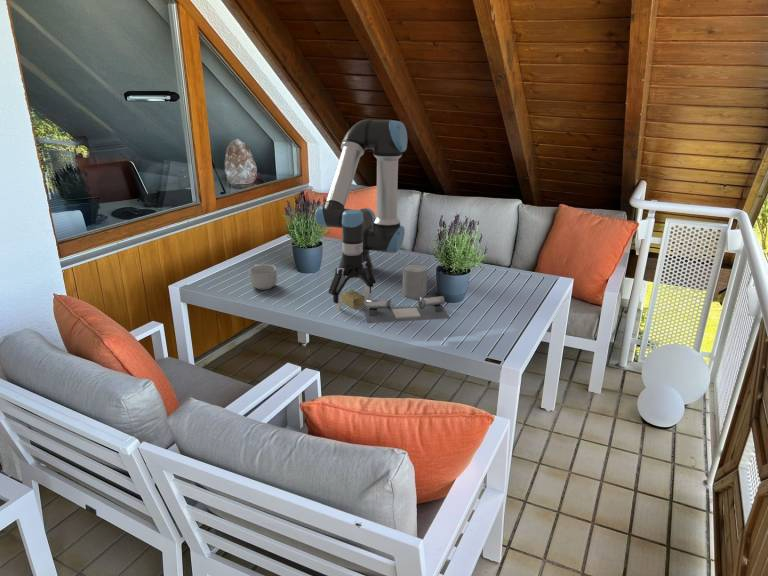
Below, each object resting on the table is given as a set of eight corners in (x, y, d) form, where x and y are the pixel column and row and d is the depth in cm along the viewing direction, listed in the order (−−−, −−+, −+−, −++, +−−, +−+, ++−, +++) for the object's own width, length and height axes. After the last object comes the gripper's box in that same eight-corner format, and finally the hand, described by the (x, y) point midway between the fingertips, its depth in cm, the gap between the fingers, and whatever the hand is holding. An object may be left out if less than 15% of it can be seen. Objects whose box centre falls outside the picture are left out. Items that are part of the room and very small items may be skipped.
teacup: (279, 290, 232) (278, 271, 230) (252, 293, 229) (251, 274, 226) (272, 278, 244) (271, 260, 242) (247, 281, 241) (245, 263, 238)
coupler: (341, 304, 220) (341, 292, 218) (352, 301, 223) (352, 289, 221) (353, 311, 214) (353, 299, 212) (364, 308, 217) (364, 296, 215)
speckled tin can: (398, 294, 230) (399, 265, 226) (420, 291, 234) (421, 262, 229) (407, 303, 222) (408, 273, 218) (430, 299, 225) (431, 270, 221)
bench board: (363, 312, 213) (363, 309, 213) (441, 307, 218) (441, 304, 218) (367, 326, 202) (367, 323, 202) (450, 321, 207) (450, 318, 207)
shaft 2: (439, 306, 216) (440, 292, 214) (444, 311, 213) (445, 296, 210) (417, 309, 213) (418, 295, 211) (422, 314, 210) (423, 299, 208)
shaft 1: (366, 315, 208) (366, 301, 206) (366, 310, 212) (366, 296, 210) (391, 315, 208) (391, 301, 206) (390, 310, 212) (391, 296, 210)
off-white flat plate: (392, 310, 212) (392, 309, 212) (416, 309, 214) (416, 307, 214) (395, 318, 206) (395, 316, 206) (420, 316, 207) (420, 315, 207)
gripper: (330, 261, 200) (331, 317, 208) (385, 249, 215) (384, 301, 223) (318, 256, 205) (319, 311, 213) (372, 244, 221) (372, 295, 228)
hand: (352, 306), depth 218 cm, fingers open, 13 cm apart
